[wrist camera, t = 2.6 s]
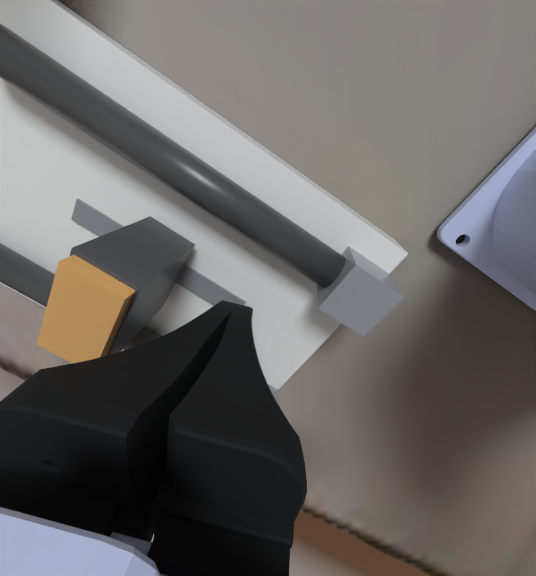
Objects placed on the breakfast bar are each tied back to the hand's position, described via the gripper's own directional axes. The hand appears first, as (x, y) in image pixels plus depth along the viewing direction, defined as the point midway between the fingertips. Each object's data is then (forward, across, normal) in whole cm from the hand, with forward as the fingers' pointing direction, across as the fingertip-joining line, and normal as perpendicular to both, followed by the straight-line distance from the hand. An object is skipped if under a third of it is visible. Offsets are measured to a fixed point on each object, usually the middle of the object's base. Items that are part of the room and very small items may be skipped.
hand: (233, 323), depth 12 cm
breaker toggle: (+1, +4, -1) cm, 4 cm away
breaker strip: (+3, +4, -1) cm, 5 cm away
